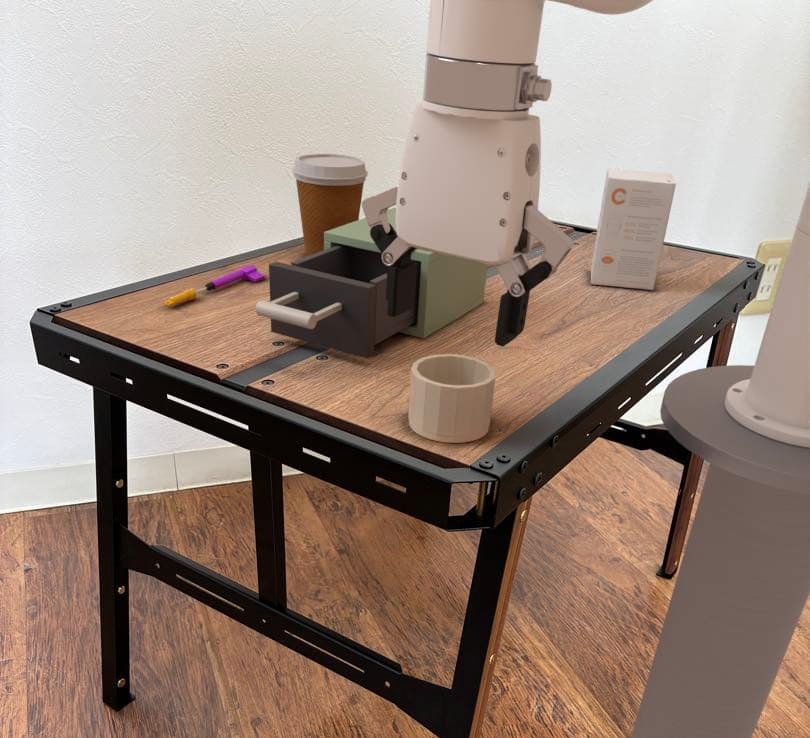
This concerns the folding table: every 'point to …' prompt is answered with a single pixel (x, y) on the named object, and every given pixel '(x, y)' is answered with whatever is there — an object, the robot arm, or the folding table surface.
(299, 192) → the disposable coffee cup
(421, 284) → the mini drawer cabinet
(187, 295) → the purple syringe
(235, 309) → the folding table surface
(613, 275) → the small box
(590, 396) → the folding table surface
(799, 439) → the robot arm
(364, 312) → the dark grey drawer
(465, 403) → the ramekin
